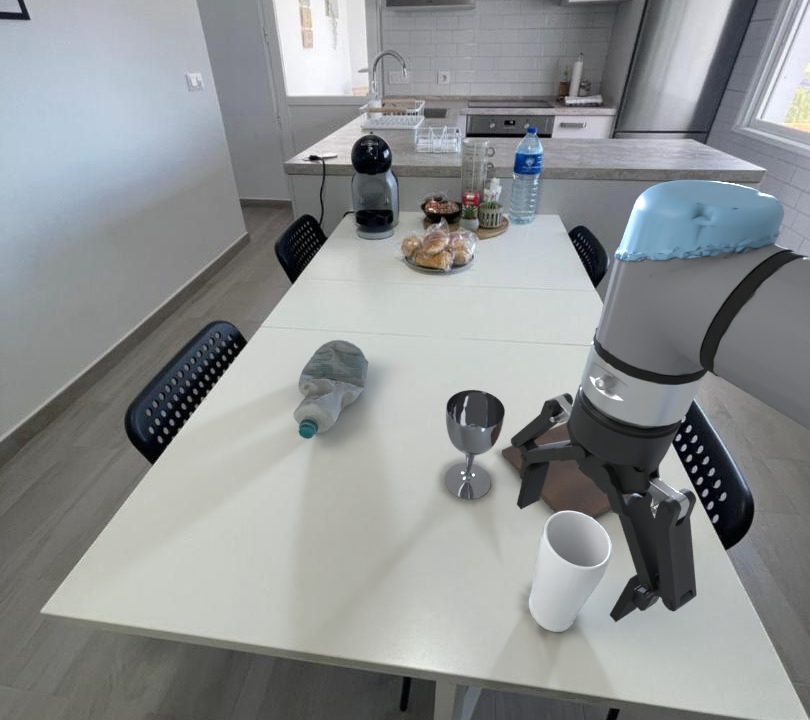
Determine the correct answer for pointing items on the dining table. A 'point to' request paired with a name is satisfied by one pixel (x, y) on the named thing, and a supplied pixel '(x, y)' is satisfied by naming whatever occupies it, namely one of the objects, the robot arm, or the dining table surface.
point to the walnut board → (565, 480)
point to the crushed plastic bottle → (329, 385)
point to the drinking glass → (567, 568)
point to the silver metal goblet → (472, 439)
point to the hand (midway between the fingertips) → (570, 551)
